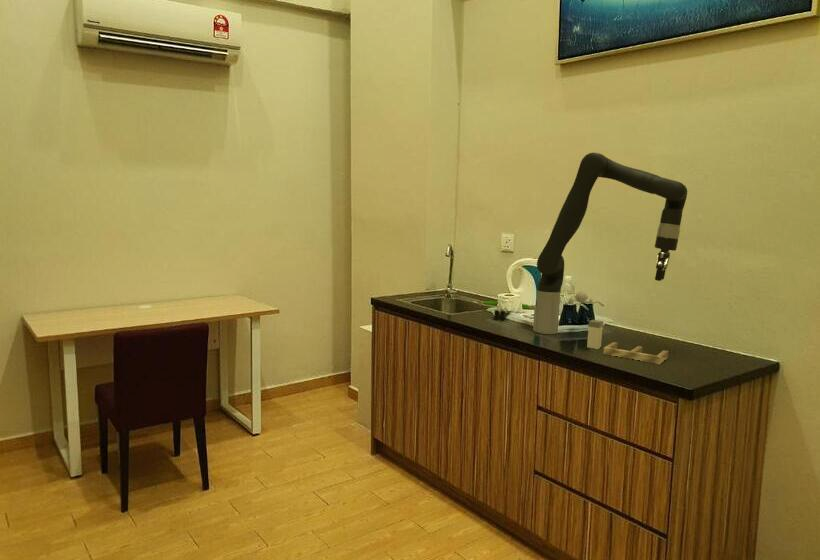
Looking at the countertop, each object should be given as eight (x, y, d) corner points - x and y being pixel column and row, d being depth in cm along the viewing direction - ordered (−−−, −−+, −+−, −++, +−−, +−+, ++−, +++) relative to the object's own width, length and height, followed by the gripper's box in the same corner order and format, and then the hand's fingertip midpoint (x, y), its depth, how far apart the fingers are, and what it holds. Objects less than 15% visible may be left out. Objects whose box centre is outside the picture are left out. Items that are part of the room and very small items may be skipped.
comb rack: (603, 354, 231) (603, 347, 230) (612, 348, 240) (613, 342, 240) (659, 364, 220) (660, 357, 219) (667, 357, 229) (668, 351, 229)
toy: (590, 323, 285) (593, 290, 283) (593, 327, 278) (596, 292, 276) (564, 322, 286) (567, 289, 284) (566, 325, 279) (569, 291, 277)
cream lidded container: (587, 347, 241) (589, 321, 239) (590, 345, 244) (592, 319, 242) (597, 349, 238) (599, 322, 237) (600, 347, 242) (603, 321, 240)
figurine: (531, 324, 281) (537, 312, 310) (532, 311, 280) (538, 299, 309) (467, 319, 288) (478, 306, 317) (468, 305, 287) (479, 294, 316)
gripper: (659, 235, 243) (651, 277, 246) (654, 234, 231) (646, 279, 233) (680, 238, 240) (671, 280, 242) (676, 238, 228) (668, 282, 230)
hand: (659, 279), depth 238 cm, fingers open, 8 cm apart
